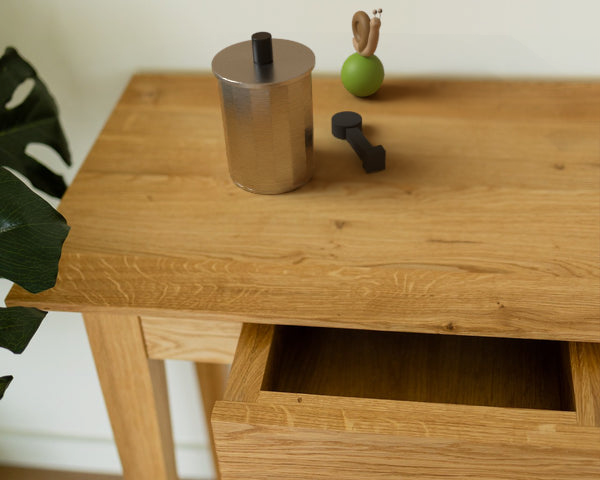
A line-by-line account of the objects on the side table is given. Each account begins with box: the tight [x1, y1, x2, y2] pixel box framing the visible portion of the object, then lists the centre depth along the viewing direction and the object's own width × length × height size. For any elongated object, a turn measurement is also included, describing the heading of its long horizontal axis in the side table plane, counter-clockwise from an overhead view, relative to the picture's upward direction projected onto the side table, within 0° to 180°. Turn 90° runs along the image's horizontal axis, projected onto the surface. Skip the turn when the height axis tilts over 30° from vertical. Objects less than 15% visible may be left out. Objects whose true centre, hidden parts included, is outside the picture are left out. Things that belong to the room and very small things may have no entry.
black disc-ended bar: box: [330, 110, 387, 174], centre depth 86 cm, size 4×11×2 cm, turn 18°
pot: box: [216, 72, 316, 195], centre depth 80 cm, size 9×9×12 cm
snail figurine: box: [340, 7, 385, 98], centre depth 92 cm, size 5×6×12 cm
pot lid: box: [210, 31, 316, 89], centre depth 75 cm, size 10×10×4 cm
